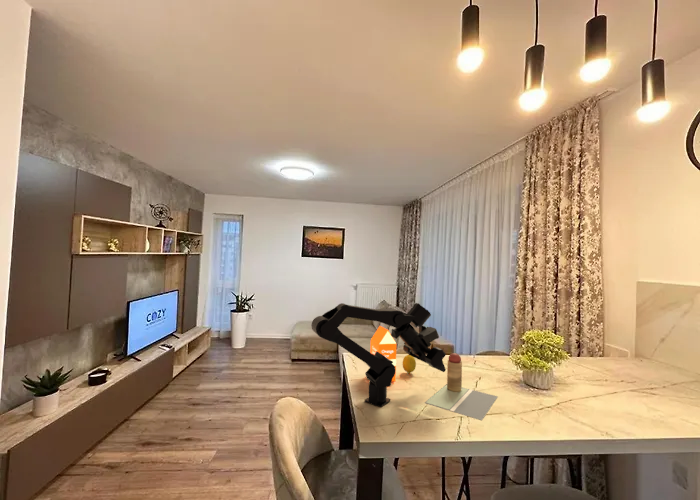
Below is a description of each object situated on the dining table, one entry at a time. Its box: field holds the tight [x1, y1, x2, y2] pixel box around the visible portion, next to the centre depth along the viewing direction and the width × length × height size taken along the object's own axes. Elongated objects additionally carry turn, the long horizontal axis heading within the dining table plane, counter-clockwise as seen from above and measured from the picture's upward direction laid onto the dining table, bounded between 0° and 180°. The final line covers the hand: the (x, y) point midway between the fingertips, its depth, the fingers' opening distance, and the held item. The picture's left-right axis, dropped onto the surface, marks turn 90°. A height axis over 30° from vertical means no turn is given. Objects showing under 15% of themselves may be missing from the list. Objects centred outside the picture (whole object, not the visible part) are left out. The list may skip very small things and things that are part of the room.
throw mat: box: [424, 383, 499, 421], centre depth 108 cm, size 22×18×1 cm
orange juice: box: [369, 325, 397, 383], centre depth 128 cm, size 8×9×20 cm
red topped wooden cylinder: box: [446, 352, 463, 392], centre depth 117 cm, size 5×5×13 cm
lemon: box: [402, 354, 417, 374], centre depth 134 cm, size 6×6×8 cm
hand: (436, 366), depth 114 cm, fingers open, 9 cm apart
